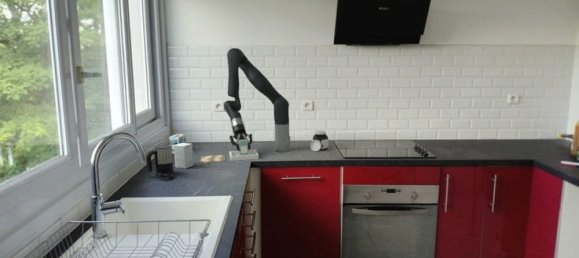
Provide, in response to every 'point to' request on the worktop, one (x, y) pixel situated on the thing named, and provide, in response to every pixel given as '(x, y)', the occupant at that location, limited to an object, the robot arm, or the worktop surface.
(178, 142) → the light bulb box
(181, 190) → the worktop surface
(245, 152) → the carton
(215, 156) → the board
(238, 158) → the tray
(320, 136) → the spread jar
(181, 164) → the supplement box
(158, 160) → the milk frother
